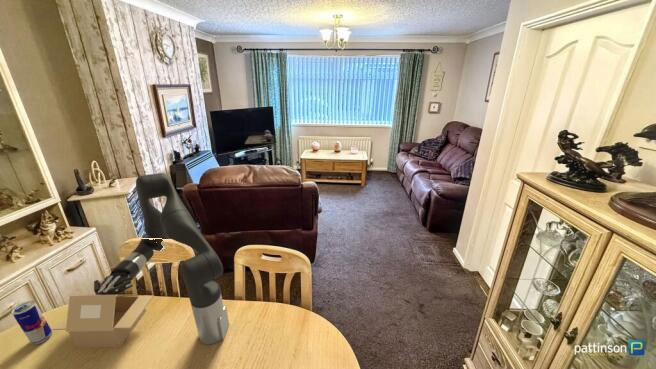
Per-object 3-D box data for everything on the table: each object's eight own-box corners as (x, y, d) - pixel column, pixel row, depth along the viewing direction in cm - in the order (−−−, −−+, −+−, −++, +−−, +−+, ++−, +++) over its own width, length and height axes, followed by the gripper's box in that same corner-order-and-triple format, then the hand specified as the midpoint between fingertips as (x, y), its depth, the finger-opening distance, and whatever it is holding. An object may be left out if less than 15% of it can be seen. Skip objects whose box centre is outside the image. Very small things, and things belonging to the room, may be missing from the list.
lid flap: (116, 294, 82) (114, 295, 81) (112, 330, 81) (111, 330, 80) (71, 295, 81) (69, 295, 81) (67, 330, 80) (65, 331, 79)
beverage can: (39, 347, 83) (18, 315, 77) (27, 343, 84) (6, 311, 78) (57, 333, 88) (39, 301, 82) (45, 330, 89) (27, 298, 83)
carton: (159, 310, 97) (154, 294, 94) (136, 346, 84) (128, 328, 81) (95, 311, 96) (87, 295, 93) (60, 347, 83) (50, 330, 80)
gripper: (109, 259, 96) (67, 295, 80) (145, 259, 96) (110, 295, 80) (115, 274, 99) (76, 312, 83) (149, 274, 99) (117, 312, 83)
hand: (93, 304), depth 81 cm, fingers closed
